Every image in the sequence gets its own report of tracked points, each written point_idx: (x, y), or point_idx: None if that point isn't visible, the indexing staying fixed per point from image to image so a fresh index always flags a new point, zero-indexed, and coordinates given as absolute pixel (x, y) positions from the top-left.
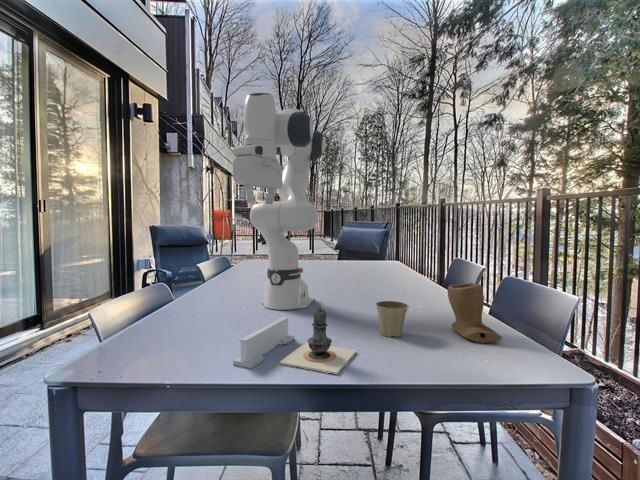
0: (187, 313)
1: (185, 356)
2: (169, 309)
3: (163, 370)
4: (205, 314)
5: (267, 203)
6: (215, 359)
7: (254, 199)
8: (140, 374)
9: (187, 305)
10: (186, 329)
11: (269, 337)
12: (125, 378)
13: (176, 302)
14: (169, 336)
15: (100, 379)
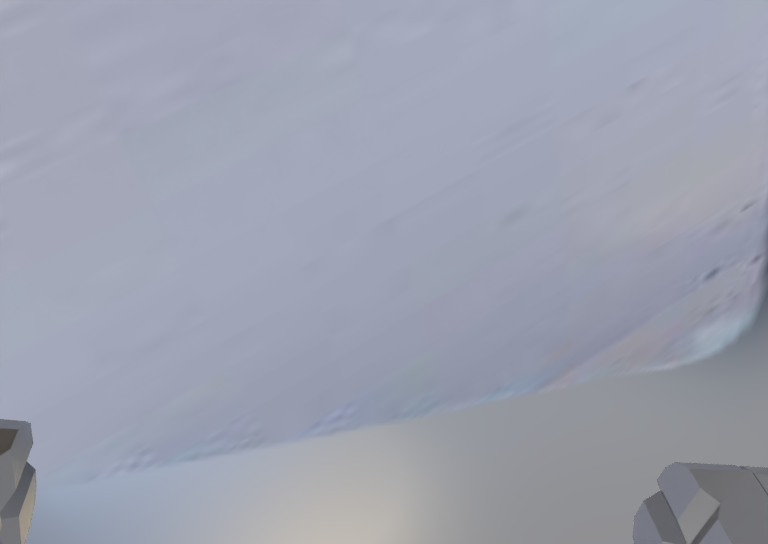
0: (133, 379)
1: (601, 123)
2: (114, 458)
3: (714, 123)
4: (113, 314)
5: (30, 476)
6: (626, 3)
7: (740, 506)
8: (738, 168)
9: None
10: (329, 273)
11: None
12: (761, 188)
13: None
14: (418, 280)
15: (760, 240)
